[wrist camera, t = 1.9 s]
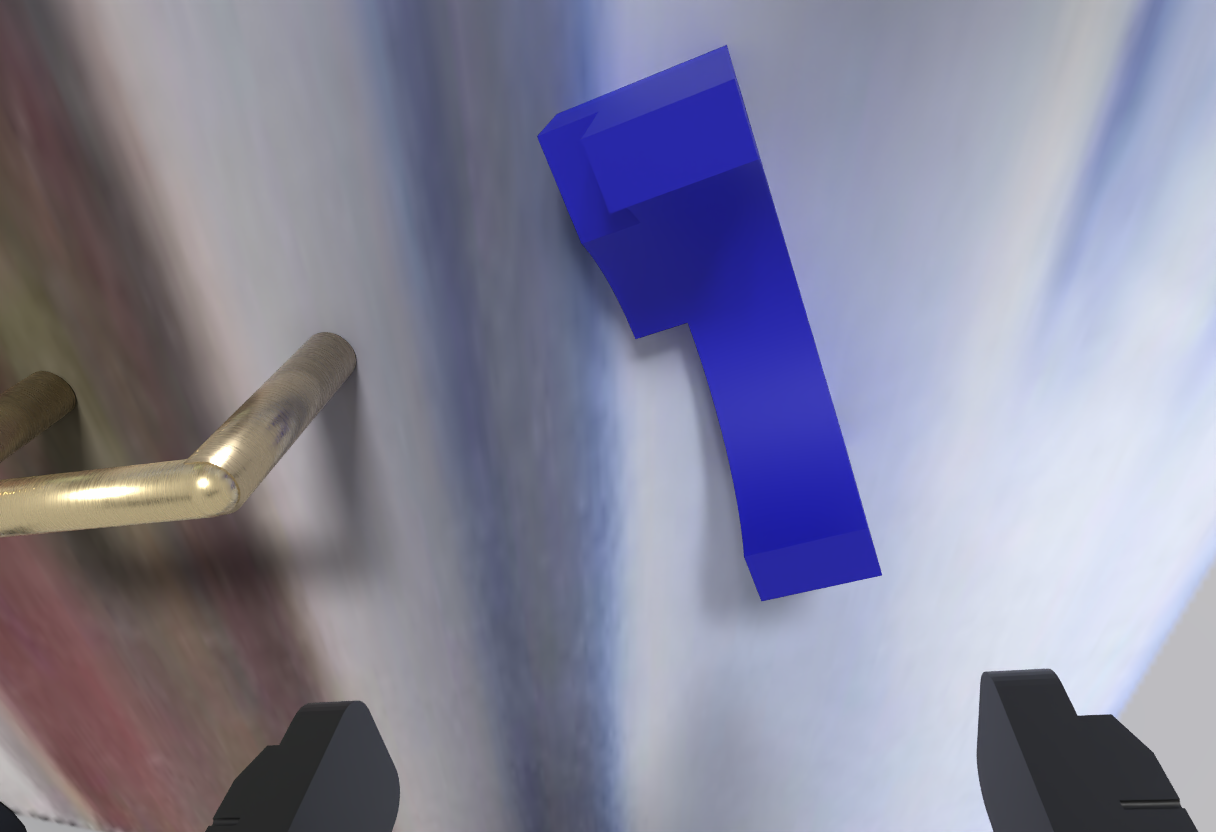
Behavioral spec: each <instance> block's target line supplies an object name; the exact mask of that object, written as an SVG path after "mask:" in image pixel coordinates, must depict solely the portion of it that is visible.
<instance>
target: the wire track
mask: <svg viewBox="0 0 1216 832" xmlns="http://www.w3.org/2000/svg"><path fill="white" fill-rule="evenodd" d="M355 366H356V356H355V353H354V351H353V349H352V347H351V346H350V344H349V343H348V342H347V341H346V340H344V339H343V338H342V337H340V336H338V335H336V334H333V333H328V332H322V333H317V334H315V335H313V336H312V337H311V338H310V339H308V340H307V341H306V342H305V343H304V344H303V345H302V346H301V347H300V348H299V349H298V350H297V351H296V352H295V353H294V354H293V355H292V356H291V357H290V358H289V359H288V360H287V361H286V362H285V363H284V364H283V365H282V366H281V367H280V368H279V369H278V370H277V371H276V372H275V373H274V374H273V375H272V376H271V377H270V378H269V379H268V380H267V381H266V382H265V383H264V384H263V385H262V386H261V387H260V388H259V389H258V390H257V391H256V392H255V393H254V394H253V395H252V396H251V397H250V398H249V399H248V400H247V401H246V402H245V403H244V404H243V405H242V406H241V407H240V408H239V409H238V410H237V411H236V412H235V413H234V414H233V415H232V416H231V417H230V418H229V419H228V420H227V421H226V422H225V423H224V424H223V425H222V426H221V427H220V428H219V429H218V430H217V431H216V432H214V433H213V434H212V435H211V436H210V437H209V438H208V439H207V440H206V441H205V442H204V443H203V444H202V445H201V446H200V447H199V448H198V449H197V450H196V451H195V452H194V453H193V454H192V455H191V456H190V457H189V458H188V459H185V460H176V461H167V462H158V463H149V464H140V465H131V466H122V467H113V468H104V469H95V470H86V471H77V472H68V473H59V474H50V475H41V476H32V477H23V478H14V479H5V480H0V537H11V536H21V535H31V534H42V533H52V532H63V531H73V530H84V529H94V528H104V527H115V526H125V525H136V524H146V523H156V522H167V521H177V520H188V519H198V518H209V517H216V516H220V515H226V514H230V513H233V512H235V511H237V510H238V509H239V508H240V507H241V506H242V505H243V504H244V502H245V501H246V500H247V499H248V498H249V496H250V495H251V494H252V493H253V492H254V490H255V489H256V488H257V487H258V486H259V484H260V483H261V482H262V481H263V480H264V478H265V477H266V476H267V475H268V474H269V472H270V471H271V470H272V469H273V467H274V466H275V465H276V464H277V463H278V461H279V460H280V459H281V458H282V457H283V455H284V454H285V453H286V452H287V451H288V449H289V448H290V447H291V446H292V445H293V443H294V442H295V441H296V440H297V439H298V437H299V436H300V435H301V434H302V433H303V431H304V430H305V429H306V428H307V426H308V425H309V424H310V423H311V422H312V420H313V419H314V418H315V417H316V416H317V414H318V413H319V412H320V411H321V410H322V408H323V407H324V406H325V405H326V404H327V402H328V401H329V400H330V399H331V398H332V396H333V395H334V394H335V393H336V391H337V390H338V389H339V388H340V387H341V385H342V384H343V383H344V382H345V381H346V379H347V378H348V377H349V376H350V375H351V373H352V372H353V371H354V369H355ZM75 403H76V399H75V395H74V392H73V390H72V389H71V387H70V386H69V385H68V384H67V383H66V382H65V381H64V380H63V379H62V378H60V377H59V376H57V375H55V374H53V373H50V372H45V371H39V372H35V373H33V374H31V375H30V376H28V377H27V378H25V379H24V380H22V381H20V382H19V383H17V384H16V385H14V386H13V387H11V388H9V389H8V390H6V391H5V392H3V393H1V394H0V463H1V462H2V461H4V460H5V459H6V458H8V457H9V456H10V455H12V454H13V453H15V452H16V451H17V450H19V449H20V448H21V447H23V446H24V445H25V444H27V443H28V442H30V441H31V440H32V439H34V438H35V437H36V436H38V435H39V434H41V433H42V432H43V431H45V430H46V429H47V428H49V427H50V426H51V425H53V424H54V423H56V422H57V421H58V420H60V419H61V418H62V417H64V416H65V415H66V414H68V413H69V412H71V411H72V410H73V409H74V407H75Z"/></svg>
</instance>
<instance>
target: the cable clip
mask: <svg viewBox="0 0 1216 832" xmlns="http://www.w3.org/2000/svg"><path fill="white" fill-rule="evenodd" d="M537 137H538V140H539V142H540V145H541V147H542V149H543V152H544V154H545V157H546V159H547V161H548V164H549V166H550V169H551V171H552V173H553V176H554V178H555V181H556V183H557V186H558V188H559V190H560V193H561V195H562V198H563V200H564V202H565V205H566V207H567V210H568V212H569V214H570V217H571V219H572V222H573V224H574V227H575V229H576V231H577V234H578V236H579V239H580V241H581V243H582V245H583V246H584V247H585V248H586V250H587V251H588V252H589V253H590V255H591V256H592V257H593V259H594V260H595V262H596V263H597V264H598V266H599V268H600V269H601V271H602V272H603V274H604V276H605V277H606V279H607V281H608V282H609V284H610V286H611V288H612V290H613V292H614V294H615V295H616V297H617V299H618V301H619V303H620V305H621V308H622V310H623V312H624V314H625V316H626V318H627V320H628V323H629V325H630V327H631V330H632V332H633V334H634V337H635V339H638V338H641V337H644V336H647V335H650V334H653V333H657V332H660V331H663V330H666V329H669V328H672V327H676V326H679V325H682V324H685V323H688V325H689V327H690V330H691V333H692V336H693V339H694V342H695V344H696V347H697V350H698V353H699V356H700V359H701V362H702V365H703V369H704V372H705V375H706V378H707V381H708V385H709V388H710V391H711V395H712V398H713V402H714V405H715V409H716V412H717V416H718V420H719V424H720V427H721V431H722V435H723V439H724V443H725V447H726V451H727V456H728V460H729V464H730V469H731V474H732V478H733V483H734V488H735V494H736V499H737V505H738V511H739V517H740V524H741V531H742V539H743V549H744V558H745V560H746V563H747V565H748V568H749V570H750V573H751V576H752V578H753V581H754V583H755V586H756V588H757V591H758V593H759V596H760V599H761V601H765V600H770V599H775V598H779V597H784V596H789V595H793V594H798V593H802V592H807V591H812V590H816V589H821V588H826V587H830V586H835V585H840V584H844V583H849V582H853V581H858V580H863V579H867V578H872V577H877V576H881V575H882V573H881V569H880V566H879V562H878V559H877V555H876V552H875V548H874V545H873V541H872V538H871V534H870V531H869V527H868V524H867V520H866V517H865V513H864V510H863V506H862V503H861V499H860V496H859V492H858V489H857V485H856V482H855V478H854V475H853V471H852V467H851V464H850V460H849V457H848V453H847V450H846V446H845V443H844V440H843V436H842V433H841V430H840V426H839V423H838V419H837V416H836V413H835V409H834V406H833V403H832V399H831V396H830V392H829V389H828V386H827V382H826V379H825V375H824V372H823V369H822V365H821V362H820V359H819V355H818V352H817V348H816V345H815V342H814V338H813V335H812V332H811V328H810V325H809V321H808V318H807V315H806V311H805V308H804V305H803V301H802V298H801V294H800V291H799V288H798V284H797V281H796V277H795V274H794V271H793V267H792V264H791V261H790V257H789V254H788V250H787V247H786V244H785V240H784V237H783V234H782V230H781V227H780V223H779V220H778V217H777V213H776V210H775V206H774V203H773V200H772V196H771V193H770V190H769V186H768V183H767V179H766V176H765V173H764V169H763V166H762V163H761V159H760V156H759V152H758V149H757V146H756V142H755V139H754V136H753V132H752V129H751V125H750V122H749V119H748V115H747V112H746V108H745V105H744V102H743V98H742V95H741V92H740V88H739V85H738V81H737V78H736V75H735V71H734V68H733V65H732V61H731V58H730V54H729V51H728V48H727V45H725V46H723V47H721V48H718V49H716V50H713V51H711V52H708V53H706V54H703V55H701V56H698V57H696V58H694V59H691V60H689V61H686V62H684V63H681V64H679V65H676V66H674V67H671V68H669V69H667V70H664V71H662V72H659V73H657V74H654V75H652V76H649V77H647V78H644V79H642V80H640V81H637V82H635V83H632V84H630V85H627V86H625V87H622V88H620V89H617V90H615V91H613V92H610V93H608V94H605V95H603V96H600V97H598V98H595V99H593V100H590V101H588V102H586V103H583V104H581V105H578V106H576V107H573V108H571V109H568V110H566V111H563V112H561V113H559V114H556V116H555V117H554V118H553V119H552V120H551V121H550V122H549V124H548V125H547V126H546V127H545V128H544V129H543V130H542V131H541V133H540V134H539V135H538V136H537Z"/></svg>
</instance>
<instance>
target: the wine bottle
mask: <svg viewBox="0 0 1216 832" xmlns="http://www.w3.org/2000/svg"><path fill="white" fill-rule="evenodd" d="M0 832H27V831H26V828H25V826H24V825H23V824H22V822H21V821H20V820H19V819H18V818H17V816H16V815H15V814H14V813H13V812H12V811H10V810H9V809H8V808H6V807H5V806H4V805H3V804H1V803H0Z"/></svg>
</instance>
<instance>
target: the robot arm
mask: <svg viewBox="0 0 1216 832" xmlns="http://www.w3.org/2000/svg"><path fill="white" fill-rule="evenodd" d="M977 768H978V775H979V781H980V787H981V792H982V796H983V800H984V804H985V807H986V810H987V813H988V816H989V819H990V822H991V825H992V828H993V832H1198V831H1197V829H1196V827H1195V825H1194V824H1193V822H1192V820H1191V818H1190V817H1189V815H1188V813H1187V811H1186V809H1185V808H1182V807H1181V805H1180V799H1179V797H1178V795H1177V793H1176V792H1175V790H1174V788H1173V786H1172V785H1171V783H1170V781H1169V779H1168V778H1167V776H1166V774H1165V772H1164V771H1163V769H1162V767H1161V765H1160V764H1159V762H1158V760H1157V758H1156V756H1155V755H1154V753H1153V752H1152V751H1151V750H1150V749H1149V748H1148V747H1147V746H1145V745H1144V744H1143V743H1142V742H1141V741H1140V740H1139V739H1138V738H1137V737H1135V736H1134V735H1133V734H1132V733H1131V732H1130V731H1129V730H1128V729H1127V728H1126V727H1125V726H1124V725H1122V724H1121V723H1120V722H1119V721H1118V720H1117V719H1116V718H1115V717H1114V716H1113V715H1111V714H1110V715H1085V716H1077V714H1076V711H1075V709H1074V707H1073V705H1072V703H1071V701H1070V699H1069V697H1068V695H1067V693H1066V691H1065V689H1064V687H1063V685H1062V683H1061V681H1060V680H1059V678H1058V676H1057V675H1056V674H1055V672H1054V671H1053V670H1051V669H1031V670H1011V671H991V672H984V673H983V674H982V676H981V683H980V701H979V719H978V738H977ZM399 799H400V785H399V778H398V773H397V770H396V768H395V766H394V764H393V761H392V759H391V757H390V755H389V753H388V750H387V748H386V746H385V744H384V742H383V740H382V737H381V735H380V733H379V731H378V729H377V726H376V724H375V722H374V720H373V718H372V716H371V713H370V711H369V709H368V707H367V706H366V705H365V704H364V703H363V702H362V701H341V702H321V703H308V704H306V705H304V706H303V707H301V708H300V710H299V711H298V712H297V713H296V715H295V717H294V719H293V720H292V722H291V724H290V726H289V728H288V730H287V732H286V734H285V735H284V737H283V739H282V741H281V743H280V745H273V746H267V747H266V748H265V749H264V750H263V751H262V752H261V753H260V754H259V755H258V756H257V757H256V758H255V759H254V760H253V761H252V762H251V763H250V764H249V765H248V766H247V767H246V768H245V770H244V771H243V772H242V773H241V774H240V775H239V776H238V777H237V778H236V779H235V780H234V782H233V784H232V785H231V787H230V789H229V791H228V793H227V794H226V796H225V798H224V800H223V801H222V803H221V805H220V807H219V808H218V810H217V812H216V814H215V816H214V817H213V820H214V821H213V825H212V826H208V828H207V830H206V831H205V832H392V829H393V826H394V824H395V820H396V817H397V813H398V808H399Z"/></svg>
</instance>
